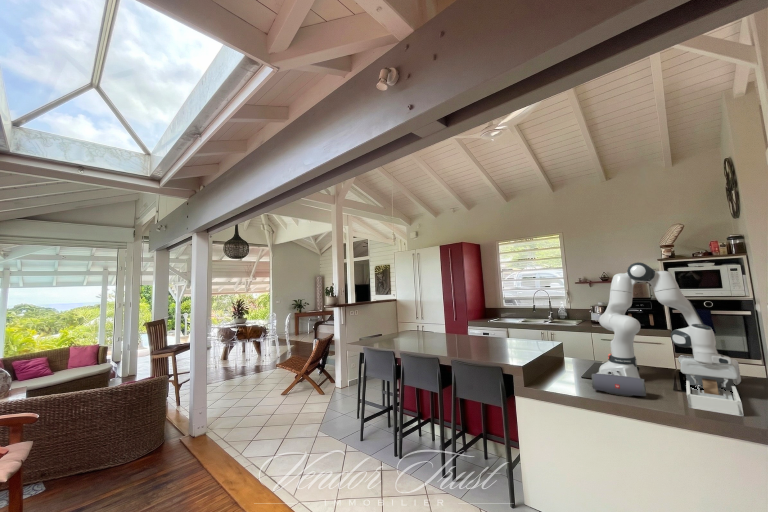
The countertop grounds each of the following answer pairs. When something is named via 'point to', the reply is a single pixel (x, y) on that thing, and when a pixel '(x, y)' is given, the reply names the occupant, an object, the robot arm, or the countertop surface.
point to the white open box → (715, 403)
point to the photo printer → (737, 381)
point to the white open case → (721, 392)
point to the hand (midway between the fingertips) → (709, 384)
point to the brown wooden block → (710, 386)
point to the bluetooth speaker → (619, 384)
